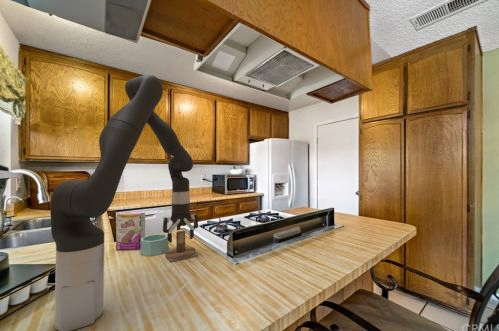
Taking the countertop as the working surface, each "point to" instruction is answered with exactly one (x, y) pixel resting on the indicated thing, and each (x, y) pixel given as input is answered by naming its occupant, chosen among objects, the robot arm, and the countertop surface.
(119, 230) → the candy bar box
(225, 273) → the countertop surface
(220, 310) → the countertop surface
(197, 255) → the mat
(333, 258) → the countertop surface
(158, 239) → the bowl
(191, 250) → the lid
